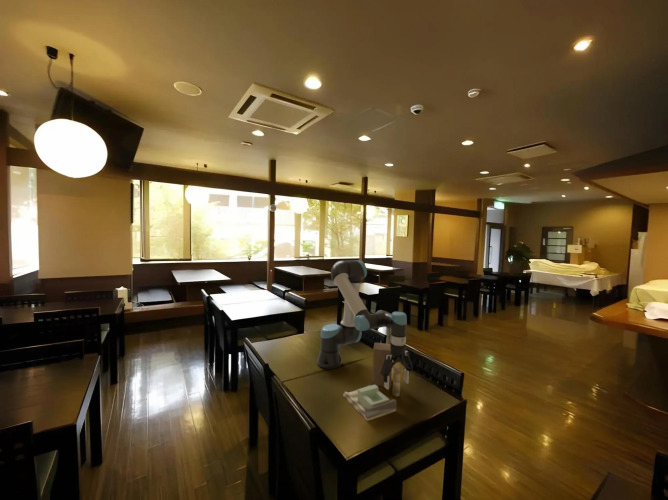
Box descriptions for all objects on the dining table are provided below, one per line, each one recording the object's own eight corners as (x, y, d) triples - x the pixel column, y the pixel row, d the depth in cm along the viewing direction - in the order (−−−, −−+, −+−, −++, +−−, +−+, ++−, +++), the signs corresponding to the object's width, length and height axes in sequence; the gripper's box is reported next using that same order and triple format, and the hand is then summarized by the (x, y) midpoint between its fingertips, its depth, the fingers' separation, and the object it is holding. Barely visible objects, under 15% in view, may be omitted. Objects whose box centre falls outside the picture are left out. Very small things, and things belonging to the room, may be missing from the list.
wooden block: (391, 388, 148) (392, 351, 147) (372, 385, 150) (373, 349, 149) (391, 378, 158) (392, 343, 157) (373, 376, 160) (374, 342, 159)
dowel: (390, 393, 143) (392, 366, 142) (396, 391, 145) (397, 365, 144) (395, 397, 140) (396, 369, 139) (401, 395, 141) (402, 368, 141)
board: (343, 395, 140) (343, 386, 139) (369, 388, 147) (369, 379, 147) (367, 421, 121) (367, 409, 121) (395, 411, 129) (396, 400, 128)
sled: (357, 401, 134) (357, 389, 133) (374, 396, 138) (374, 384, 138) (370, 414, 124) (371, 401, 123) (388, 408, 128) (389, 396, 128)
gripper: (383, 350, 132) (381, 394, 133) (421, 342, 143) (419, 383, 144) (373, 344, 138) (372, 387, 139) (410, 337, 150) (409, 376, 151)
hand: (396, 385), depth 142 cm, fingers open, 12 cm apart
